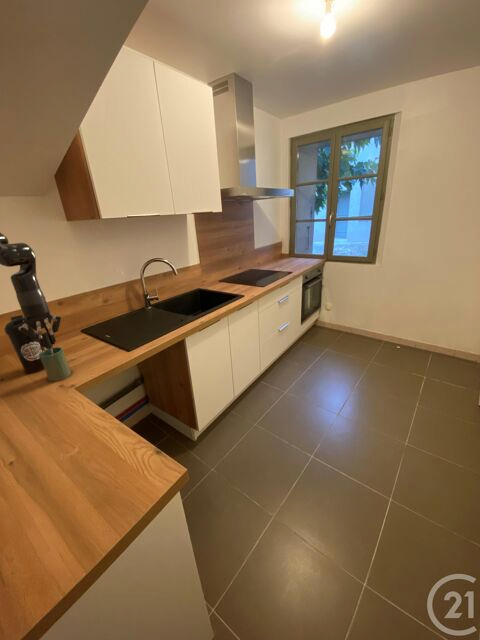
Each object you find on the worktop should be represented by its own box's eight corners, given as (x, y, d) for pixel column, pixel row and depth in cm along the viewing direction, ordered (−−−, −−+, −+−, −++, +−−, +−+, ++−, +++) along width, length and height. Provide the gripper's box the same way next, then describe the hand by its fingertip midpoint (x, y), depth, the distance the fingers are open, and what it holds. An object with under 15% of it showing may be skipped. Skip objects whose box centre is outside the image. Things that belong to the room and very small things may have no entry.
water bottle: (25, 377, 105) (2, 324, 96) (20, 368, 111) (-2, 318, 103) (54, 366, 111) (35, 316, 103) (48, 359, 118) (30, 311, 109)
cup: (45, 383, 100) (35, 358, 96) (52, 373, 106) (43, 349, 102) (67, 379, 101) (58, 354, 97) (73, 369, 108) (65, 345, 104)
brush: (51, 373, 101) (37, 335, 95) (54, 368, 104) (41, 332, 98) (61, 371, 102) (48, 334, 96) (64, 367, 105) (51, 330, 99)
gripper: (49, 295, 100) (63, 336, 106) (4, 306, 89) (23, 351, 96) (58, 297, 96) (72, 340, 102) (13, 309, 85) (31, 355, 92)
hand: (48, 345), depth 99 cm, fingers closed on brush, 2 cm apart
